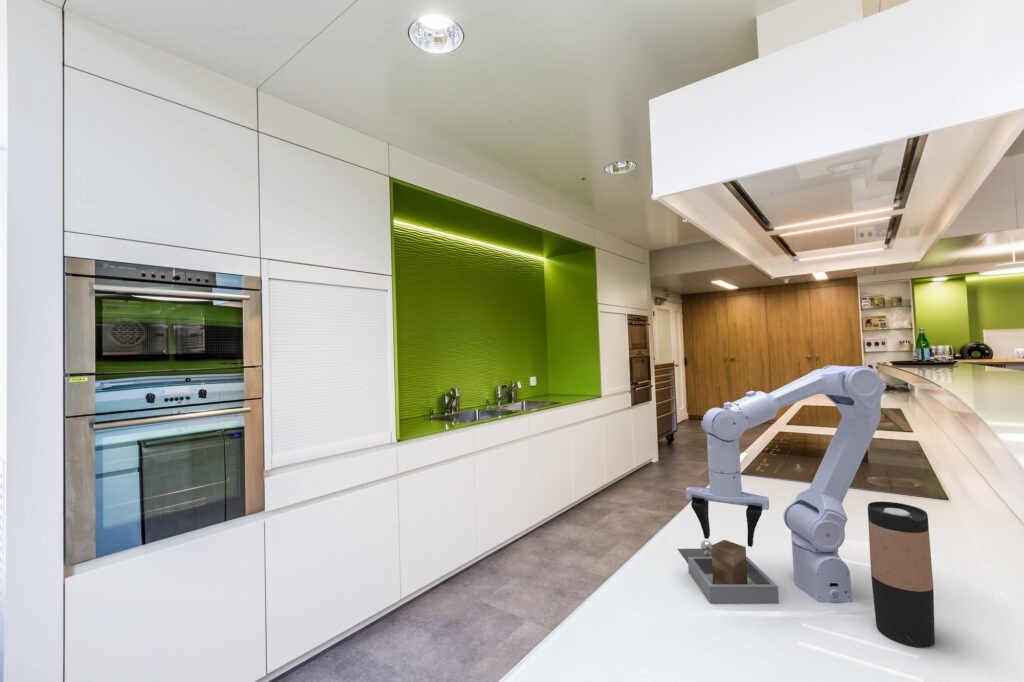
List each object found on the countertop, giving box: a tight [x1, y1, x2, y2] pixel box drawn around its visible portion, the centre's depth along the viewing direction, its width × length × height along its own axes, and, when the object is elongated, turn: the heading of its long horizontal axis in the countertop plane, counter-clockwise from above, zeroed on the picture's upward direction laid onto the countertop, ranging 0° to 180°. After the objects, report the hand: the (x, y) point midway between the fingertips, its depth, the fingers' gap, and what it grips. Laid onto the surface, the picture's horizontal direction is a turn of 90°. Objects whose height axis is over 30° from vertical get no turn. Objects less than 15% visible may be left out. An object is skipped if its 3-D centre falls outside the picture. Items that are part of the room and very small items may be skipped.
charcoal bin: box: [687, 556, 780, 605], centre depth 87 cm, size 12×12×4 cm
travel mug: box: [867, 501, 936, 649], centre depth 73 cm, size 8×8×20 cm
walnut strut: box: [711, 539, 749, 584], centre depth 87 cm, size 4×4×8 cm
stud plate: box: [677, 539, 713, 564], centre depth 99 cm, size 10×10×5 cm
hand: (728, 540), depth 87 cm, fingers open, 7 cm apart
